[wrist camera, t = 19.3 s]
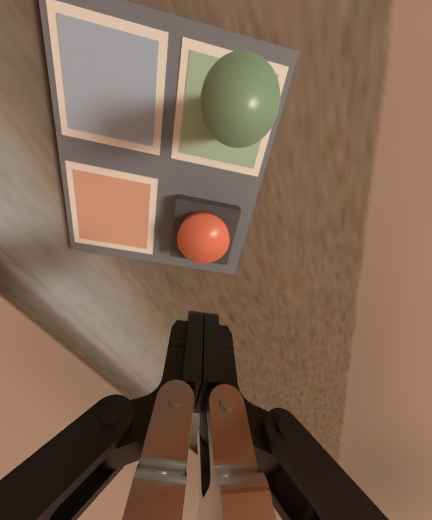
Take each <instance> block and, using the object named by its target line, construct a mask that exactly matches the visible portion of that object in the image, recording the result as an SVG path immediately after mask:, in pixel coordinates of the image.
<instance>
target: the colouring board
mask: <svg viewBox="0 0 432 520" xmlns="http://www.w3.org/2000/svg"><path fill="white" fill-rule="evenodd" d="M39 6H40V14H41V21H42V29H43V37H44V44H45V52H46V60H47V67H48V75H49V83H50V90H51V98H52V106H53V113H54V121H55V129H56V136H57V144H58V151H59V159H60V167H61V174H62V182H63V190H64V197H65V205H66V213H67V220H68V228H69V236H70V243H71V249H73V250H79V251H86V252H92V253H99V254H105V255H112V256H118V257H125V258H131V259H137V260H144V261H150V262H157V263H163V264H170V265H176V266H183V267H189V268H196V269H202V270H208V271H215V272H221V273H228V274H235V271H236V268H237V264H238V261H239V257H240V254H241V251H242V247H243V244H244V240H245V237H246V233H247V230H248V227H249V223H250V220H251V216H252V213H253V210H254V206H255V203H256V199H257V196H258V193H259V189H260V186H261V182H262V179H263V175H264V172H265V169H266V165H267V162H268V158H269V155H270V152H271V148H272V145H273V141H274V138H275V135H276V131H277V128H278V124H279V121H280V117H281V114H282V111H283V107H284V104H285V100H286V97H287V94H288V90H289V87H290V83H291V80H292V77H293V73H294V70H295V66H296V63H297V60H298V56H299V53H300V52H299V51H295V50H292V49H289V48H285V47H282V46H279V45H275V44H272V43H268V42H265V41H262V40H258V39H255V38H252V37H248V36H245V35H241V34H238V33H235V32H231V31H228V30H225V29H221V28H218V27H214V26H211V25H208V24H204V23H201V22H198V21H194V20H191V19H187V18H184V17H181V16H177V15H174V14H171V13H167V12H164V11H160V10H157V9H154V8H150V7H147V6H144V5H140V4H137V3H133V2H130V1H127V0H39ZM238 50H247V51H252V52H255V53H257V54H259V55H260V56H262V57H263V58H264V59H266V60H267V61H268V63H269V64H270V65H271V66H272V68H273V69H274V71H275V73H276V76H277V79H278V82H279V86H280V107H279V111H278V115H277V118H276V120H275V122H274V124H273V126H272V128H271V129H270V131H269V132H268V133H267V134H266V135H265V136H264V138H262V139H261V140H260V141H258V142H257V143H255V144H253V145H251V146H248V147H244V148H233V147H229V146H226V145H224V144H222V143H220V142H219V141H217V140H216V139H215V138H214V137H213V136H212V135H211V133H210V132H209V131H208V129H207V127H206V125H205V123H204V120H203V117H202V113H201V102H200V99H201V91H202V86H203V83H204V80H205V78H206V75H207V73H208V72H209V70H210V69H211V67H212V66H213V65H214V63H216V62H217V61H218V60H219V59H220V58H221V57H223V56H224V55H226V54H228V53H230V52H233V51H238ZM197 211H209V212H213V213H215V214H217V215H218V216H220V217H221V218H222V219H223V220H224V222H225V223H226V225H227V228H228V233H229V239H230V240H229V246H228V249H227V251H226V253H225V254H224V255H223V256H222V257H221V258H220V259H218V260H216V261H214V262H211V263H196V262H193V261H191V260H189V259H188V258H186V257H185V256H184V255H183V254H182V252H181V251H180V249H179V247H178V243H177V236H178V231H179V228H180V225H181V223H182V221H183V220H184V219H185V218H186V217H187V216H188V215H190V214H192V213H194V212H197Z"/></svg>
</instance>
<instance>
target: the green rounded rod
mask: <svg viewBox="0 0 432 520" xmlns="http://www.w3.org/2000/svg"><path fill="white" fill-rule="evenodd" d="M200 102H201V113H202V117H203V120H204V123H205V125H206V127H207V129H208V131H209V132H210V133H211V135H212V136H213V137H214V138H215V139H216V140H217V141H219V142H220V143H222V144H224V145H226V146H229V147H233V148H244V147H248V146H251V145H253V144H255V143H257V142H258V141H260V140H261V139H262V138H264V136H265V135H266V134H267V133H268V132H269V131H270V129H271V128H272V126H273V124H274V122H275V120H276V118H277V115H278V111H279V107H280V86H279V82H278V79H277V76H276V73H275V71H274V69H273V68H272V66H271V65H270V64H269V63H268V61H267V60H266V59H264V58H263V57H262V56H260V55H259V54H257V53H255V52H252V51H247V50H238V51H233V52H230V53H228V54H226V55H224V56H223V57H221V58H220V59H219V60H218V61H217V62H216V63H214V65H213V66H212V67H211V69H210V70H209V72H208V73H207V75H206V78H205V80H204V83H203V86H202V91H201V99H200Z"/></svg>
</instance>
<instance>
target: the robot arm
mask: <svg viewBox="0 0 432 520" xmlns="http://www.w3.org/2000/svg"><path fill="white" fill-rule="evenodd" d="M193 411H194V413H200V426H199V429H198V433H197V441H198V475H199V505H198V514H197V520H276V516H275V511H274V508H275V509H276V511H277V512H278V514H279V515H280V517H281V518H282V520H389V519H388V518H387V517H386V516H385V515H384V514H383V513H382V512H381V511H380V510H379V508H378V507H377V506H376V505H375V504H374V503H373V502H372V501H371V500H370V499H369V497H368V496H367V495H366V494H365V493H364V492H363V491H362V490H361V489H360V488H359V487H358V485H357V484H356V483H355V482H354V481H353V480H352V479H351V478H350V477H349V476H348V475H347V473H345V471H344V470H343V469H342V468H341V467H340V466H339V465H338V464H337V462H336V461H335V460H334V459H333V458H332V457H331V456H330V455H329V454H328V453H327V452H326V450H325V449H324V448H323V447H322V446H321V445H320V444H319V443H318V442H317V441H316V439H315V438H314V437H313V436H312V435H311V434H310V433H309V432H308V431H307V430H306V429H305V427H304V426H303V425H302V424H301V423H300V422H299V421H298V420H297V419H296V418H295V417H294V416H293V415H292V414H291V413H290V412H289V411H287V410H285V409H283V408H274V409H271V410H270V411H269V412H268V411H266V410H264V409H262V408H259V407H257V406H255V405H253V404H251V403H250V402H248V401H247V400H246V399H245V398H244V397H243V395H242V394H241V392H240V390H239V387H238V382H237V374H236V365H235V357H234V348H233V339H232V334H231V332H230V330H229V329H228V327H227V326H223V325H219V316H218V314H212V313H204V314H203V312H196V311H189V313H188V319H187V321H182V320H177V321H176V322H175V324H174V325H173V326H172V328H171V334H170V339H169V344H168V350H167V355H166V361H165V366H164V372H163V377H162V380H161V383H160V384H159V386H158V387H157V388H156V389H155V390H154V391H153V392H152V393H150V394H148V395H146V396H144V397H140V398H136V399H133V400H129V399H128V398H126V397H125V396H122V395H110V396H107V397H105V398H103V399H101V400H100V401H98V402H97V403H96V404H95V405H93V406H92V407H91V408H90V409H89V410H87V411H86V412H85V413H83V414H82V415H81V416H80V417H79V418H77V419H76V420H75V421H73V422H72V423H71V424H70V425H69V426H67V427H66V428H65V429H64V430H62V431H61V432H60V433H59V434H57V435H56V436H55V437H54V438H52V439H51V440H50V441H49V442H47V443H46V444H45V445H44V446H42V447H41V448H40V449H39V450H37V451H36V452H35V453H34V454H32V455H31V456H30V457H29V458H27V459H26V460H25V461H24V462H22V463H21V464H20V465H19V466H17V467H16V468H15V469H14V470H12V471H11V472H10V473H9V474H8V475H6V476H5V477H4V478H2V479H1V480H0V520H77V519H78V518H79V517H80V515H81V514H82V513H83V512H84V511H85V510H86V509H87V508H88V506H89V505H90V504H91V503H92V502H93V501H94V500H95V499H96V497H97V496H98V495H99V494H100V493H101V492H102V491H103V490H104V488H105V487H106V486H107V485H108V484H109V483H110V481H112V479H113V478H114V477H115V476H116V475H117V474H118V473H119V472H120V470H121V469H122V468H123V467H124V466H125V465H127V464H130V463H132V462H135V461H138V460H139V464H138V466H137V468H136V471H135V474H134V478H133V481H132V485H131V489H130V492H129V496H128V500H127V503H126V507H125V511H124V515H123V518H122V520H182V515H183V506H184V497H185V489H186V474H187V473H186V465H187V457H188V448H189V440H190V432H191V424H192V416H193ZM273 506H274V507H273Z"/></svg>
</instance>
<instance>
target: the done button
mask: <svg viewBox="0 0 432 520" xmlns="http://www.w3.org/2000/svg"><path fill="white" fill-rule="evenodd" d="M229 240H230V239H229V233H228V228H227V225H226V223H225V222H224V220H223V219H222V218H221V217H220V216H218V215H217V214H215V213H213V212H209V211H197V212H194V213H192V214H190V215H188V216H187V217H186V218H185V219H184V220H183V221H182V223H181V225H180V228H179V231H178V236H177V243H178V247H179V249H180V251H181V252H182V254H183V255H184V256H185V257H186V258H188V259H189V260H191V261H193V262H196V263H211V262H214V261H216V260H218V259H220V258H221V257H222V256H223V255H224V254H225V253H226V251H227V249H228V246H229Z"/></svg>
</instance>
